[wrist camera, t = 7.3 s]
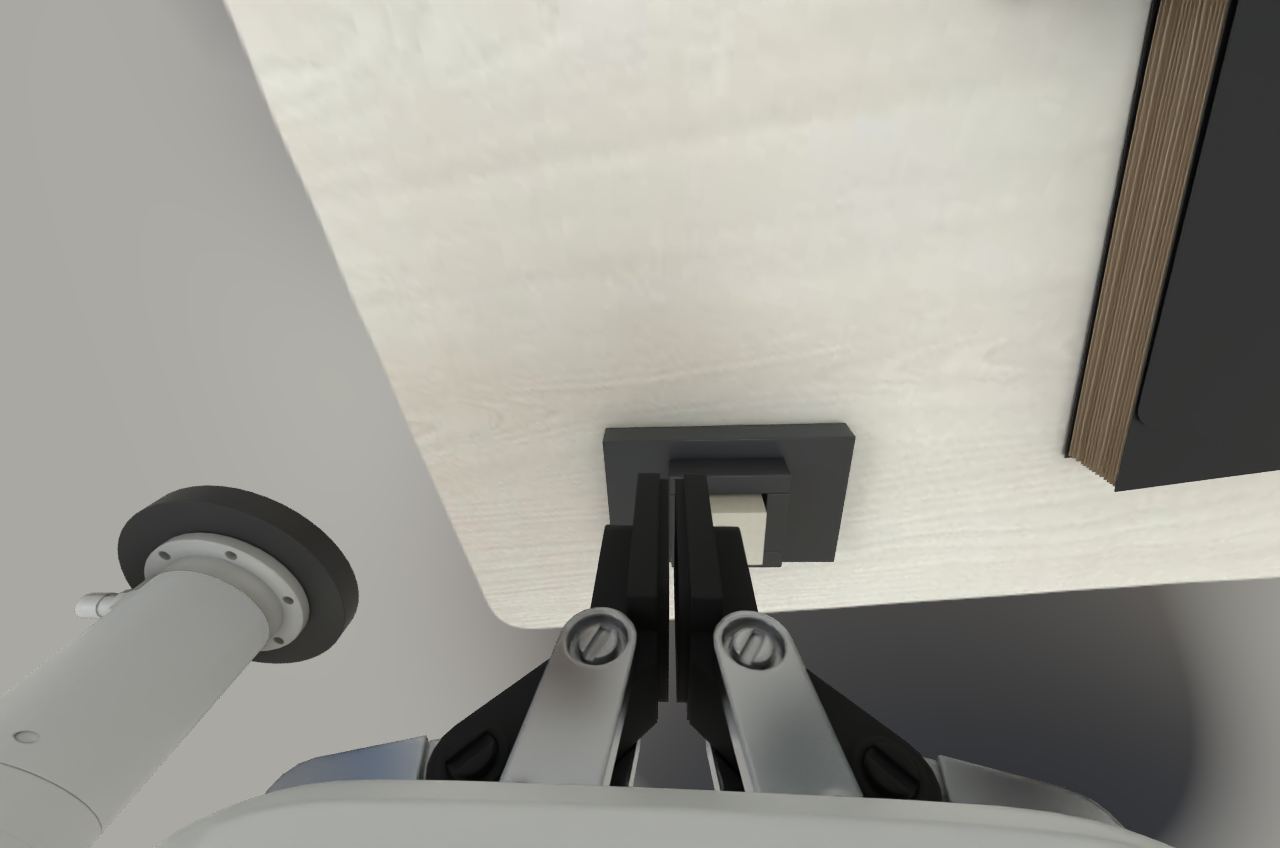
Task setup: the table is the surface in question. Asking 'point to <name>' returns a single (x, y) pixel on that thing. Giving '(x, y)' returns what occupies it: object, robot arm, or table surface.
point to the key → (742, 520)
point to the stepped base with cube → (744, 477)
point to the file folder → (1191, 260)
